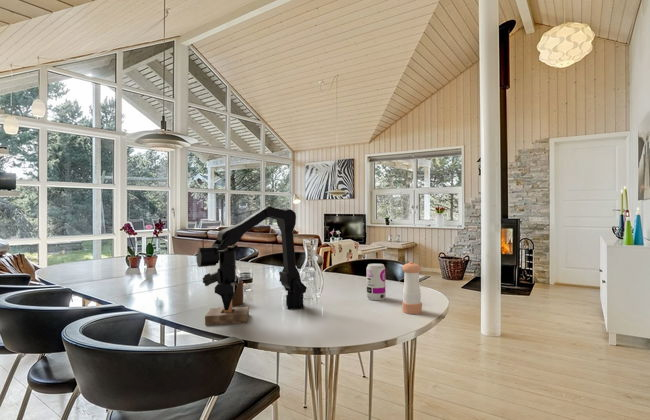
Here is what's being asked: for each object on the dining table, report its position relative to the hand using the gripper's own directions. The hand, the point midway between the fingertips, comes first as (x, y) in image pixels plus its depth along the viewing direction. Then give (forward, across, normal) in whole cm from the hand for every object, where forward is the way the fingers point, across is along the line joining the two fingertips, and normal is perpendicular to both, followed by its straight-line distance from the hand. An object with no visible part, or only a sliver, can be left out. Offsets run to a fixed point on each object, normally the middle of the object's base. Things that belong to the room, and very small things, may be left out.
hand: (227, 307), depth 129 cm
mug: (+4, -20, -1) cm, 21 cm away
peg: (+4, 0, 0) cm, 4 cm away
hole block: (+4, 0, 0) cm, 4 cm away
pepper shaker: (+5, +1, +69) cm, 69 cm away
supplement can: (+5, -21, +61) cm, 65 cm away
